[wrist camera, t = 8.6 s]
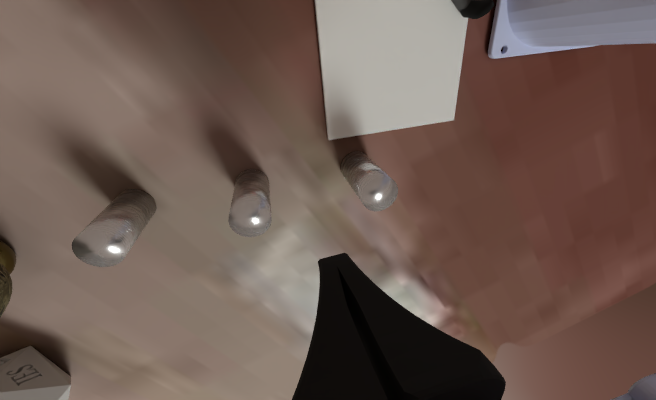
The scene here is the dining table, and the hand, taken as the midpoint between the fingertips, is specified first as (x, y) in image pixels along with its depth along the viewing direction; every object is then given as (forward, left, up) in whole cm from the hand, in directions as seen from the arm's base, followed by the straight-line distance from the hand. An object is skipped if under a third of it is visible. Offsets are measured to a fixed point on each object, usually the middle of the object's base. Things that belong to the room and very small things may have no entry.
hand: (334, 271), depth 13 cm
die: (+26, +12, -10) cm, 30 cm away
